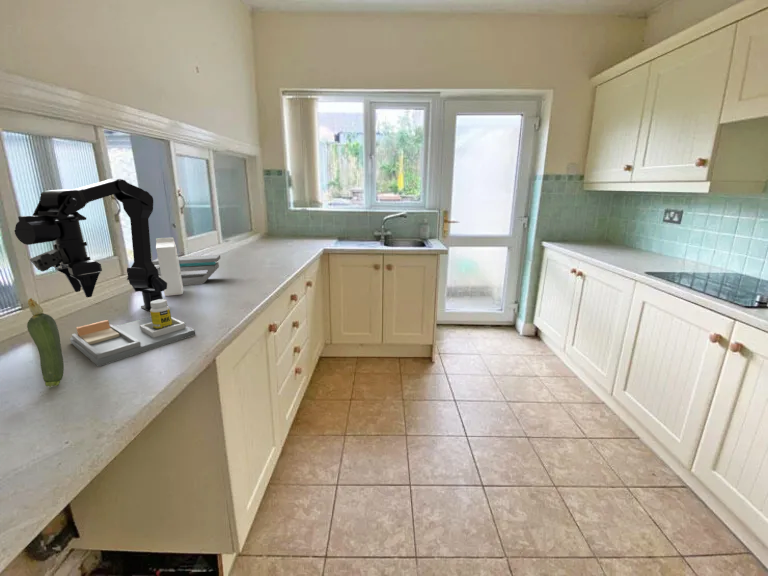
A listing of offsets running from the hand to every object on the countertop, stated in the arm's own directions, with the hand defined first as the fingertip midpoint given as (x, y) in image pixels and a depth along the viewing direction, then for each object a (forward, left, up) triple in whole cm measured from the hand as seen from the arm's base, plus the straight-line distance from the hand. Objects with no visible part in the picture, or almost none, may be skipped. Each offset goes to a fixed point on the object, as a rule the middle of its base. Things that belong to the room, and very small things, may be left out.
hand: (83, 294), depth 101 cm
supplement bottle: (+17, +12, -11) cm, 23 cm away
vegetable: (+28, -13, -12) cm, 33 cm away
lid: (+9, -1, -10) cm, 14 cm away
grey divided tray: (+14, +6, -12) cm, 19 cm away
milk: (-23, +33, -12) cm, 42 cm away
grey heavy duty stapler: (-35, +45, -12) cm, 58 cm away
